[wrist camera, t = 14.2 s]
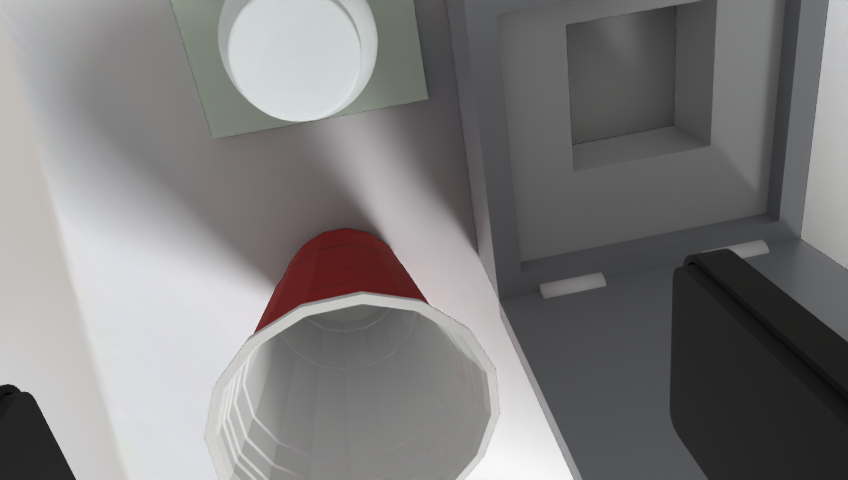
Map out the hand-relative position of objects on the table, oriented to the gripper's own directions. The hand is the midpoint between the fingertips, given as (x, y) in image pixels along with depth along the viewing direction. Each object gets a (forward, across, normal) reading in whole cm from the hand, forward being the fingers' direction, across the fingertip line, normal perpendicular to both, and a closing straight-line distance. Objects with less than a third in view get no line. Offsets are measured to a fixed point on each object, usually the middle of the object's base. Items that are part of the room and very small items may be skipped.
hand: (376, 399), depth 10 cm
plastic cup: (+23, +2, +10) cm, 25 cm away
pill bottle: (+22, +1, -3) cm, 23 cm away
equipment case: (+23, -12, +3) cm, 26 cm away
